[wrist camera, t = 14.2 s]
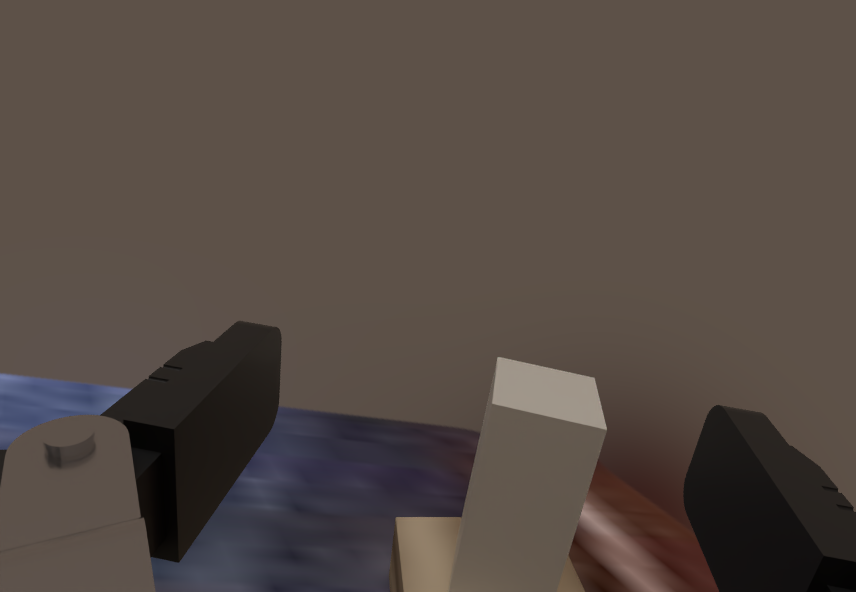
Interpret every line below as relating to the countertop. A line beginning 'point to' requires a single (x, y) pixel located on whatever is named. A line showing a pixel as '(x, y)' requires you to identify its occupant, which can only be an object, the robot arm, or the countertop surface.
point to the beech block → (438, 556)
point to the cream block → (528, 479)
